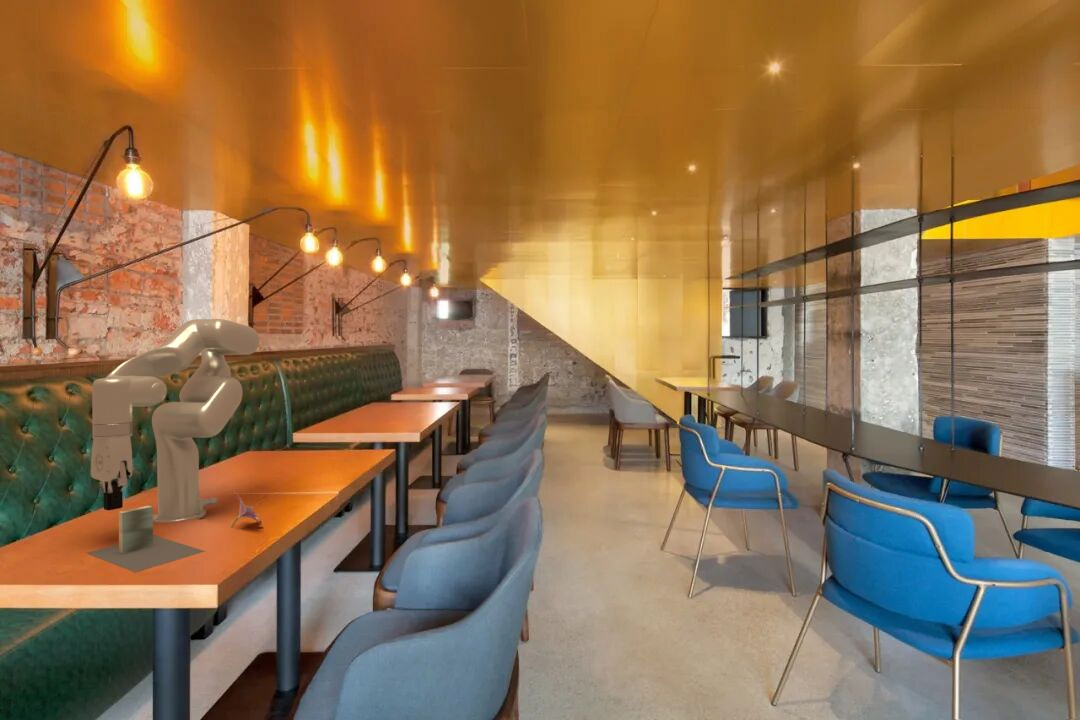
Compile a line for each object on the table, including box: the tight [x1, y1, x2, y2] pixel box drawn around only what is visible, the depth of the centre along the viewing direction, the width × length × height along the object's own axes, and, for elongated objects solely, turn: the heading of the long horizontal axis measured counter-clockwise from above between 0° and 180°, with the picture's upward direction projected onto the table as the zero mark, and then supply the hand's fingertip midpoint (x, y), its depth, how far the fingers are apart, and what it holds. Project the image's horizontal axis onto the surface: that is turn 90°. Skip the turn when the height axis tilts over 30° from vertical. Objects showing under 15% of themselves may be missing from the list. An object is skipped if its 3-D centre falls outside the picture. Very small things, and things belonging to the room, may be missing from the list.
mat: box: [86, 534, 206, 573], centre depth 128 cm, size 14×22×1 cm, turn 60°
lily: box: [230, 491, 264, 529], centre depth 147 cm, size 12×12×10 cm
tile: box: [118, 505, 154, 554], centre depth 130 cm, size 6×2×9 cm, turn 150°
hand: (113, 508), depth 134 cm, fingers closed
